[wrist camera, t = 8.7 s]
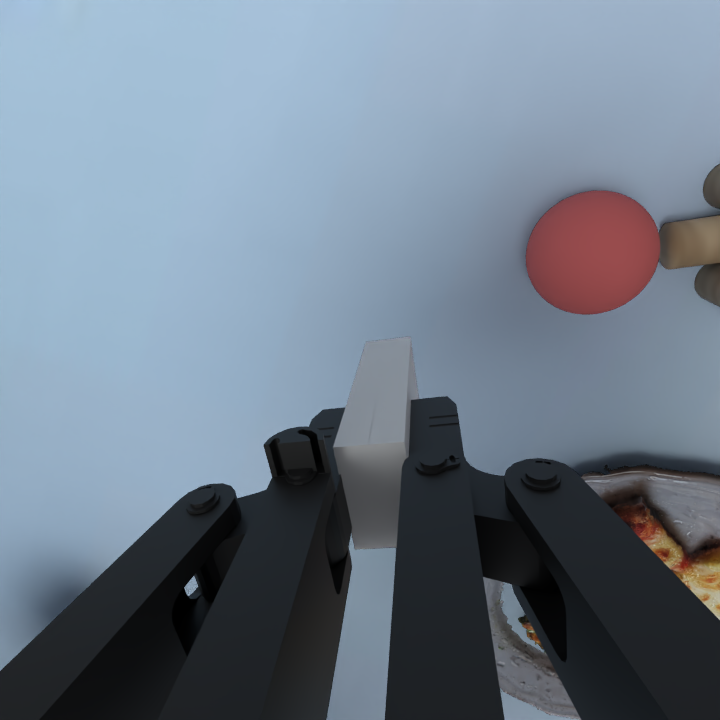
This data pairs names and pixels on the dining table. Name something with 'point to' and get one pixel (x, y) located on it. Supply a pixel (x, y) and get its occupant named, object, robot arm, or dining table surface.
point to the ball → (593, 252)
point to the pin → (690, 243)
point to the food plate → (657, 530)
